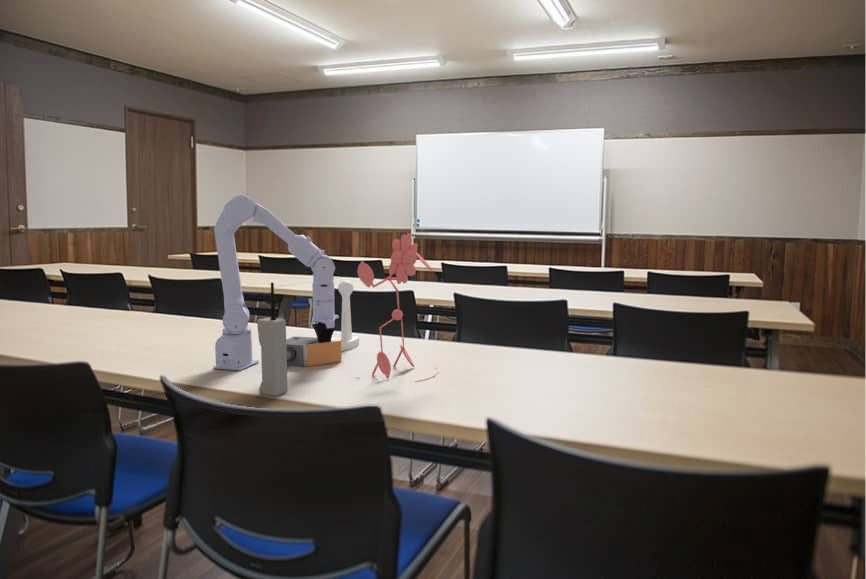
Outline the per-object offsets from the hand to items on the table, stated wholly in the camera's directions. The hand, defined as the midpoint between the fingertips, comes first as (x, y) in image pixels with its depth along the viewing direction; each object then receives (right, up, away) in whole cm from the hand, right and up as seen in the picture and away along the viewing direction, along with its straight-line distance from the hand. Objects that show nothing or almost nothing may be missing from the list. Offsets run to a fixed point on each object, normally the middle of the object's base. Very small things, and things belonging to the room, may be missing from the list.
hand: (324, 350), depth 173 cm
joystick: (+2, -1, +17) cm, 17 cm away
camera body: (-7, -3, 0) cm, 7 cm away
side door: (0, -3, -4) cm, 5 cm away
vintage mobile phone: (-6, -7, -30) cm, 31 cm away
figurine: (+23, -5, -13) cm, 27 cm away
